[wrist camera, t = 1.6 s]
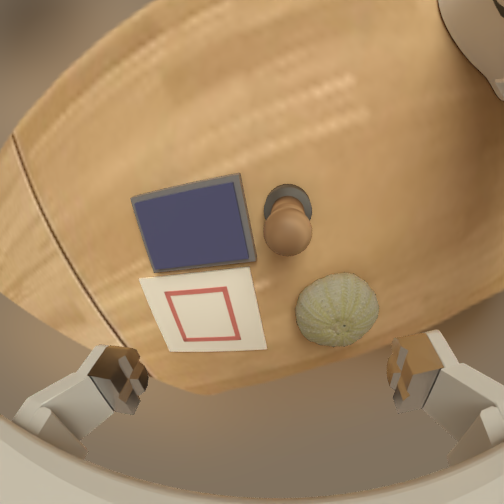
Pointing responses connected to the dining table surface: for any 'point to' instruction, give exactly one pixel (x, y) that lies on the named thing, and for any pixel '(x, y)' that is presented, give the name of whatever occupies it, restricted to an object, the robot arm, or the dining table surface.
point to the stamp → (287, 220)
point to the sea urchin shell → (336, 310)
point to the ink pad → (196, 224)
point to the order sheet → (206, 310)
